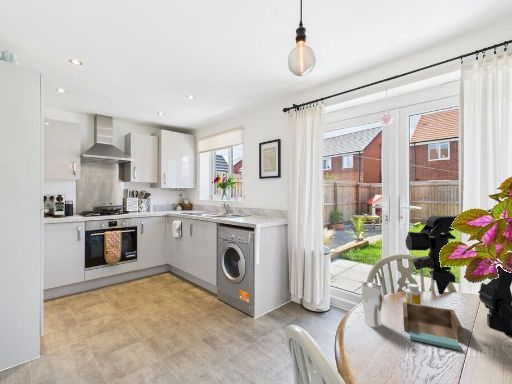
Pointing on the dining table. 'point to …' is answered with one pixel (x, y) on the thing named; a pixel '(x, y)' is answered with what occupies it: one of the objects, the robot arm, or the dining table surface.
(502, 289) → the robot arm
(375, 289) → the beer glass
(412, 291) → the supplement bottle
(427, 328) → the crate
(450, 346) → the panel
